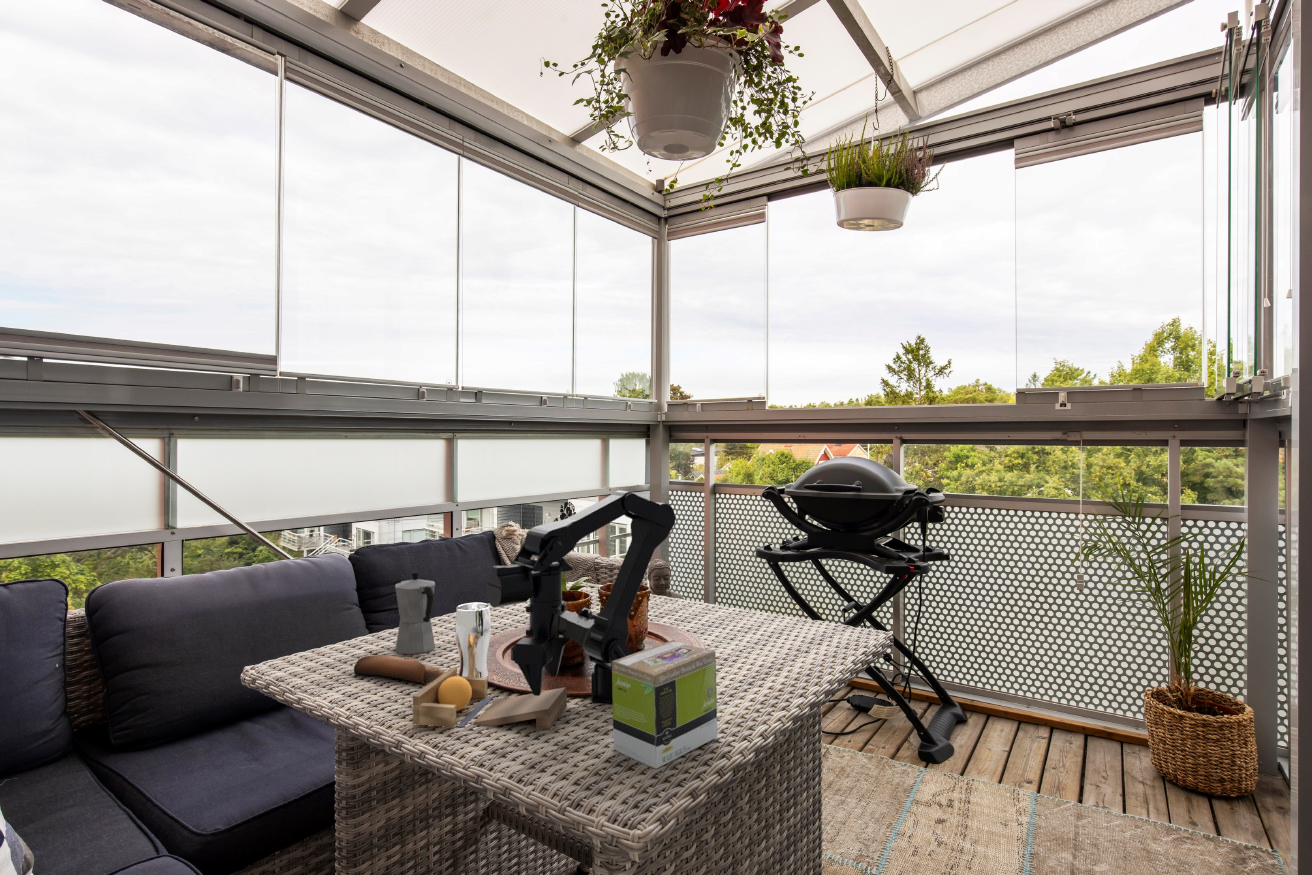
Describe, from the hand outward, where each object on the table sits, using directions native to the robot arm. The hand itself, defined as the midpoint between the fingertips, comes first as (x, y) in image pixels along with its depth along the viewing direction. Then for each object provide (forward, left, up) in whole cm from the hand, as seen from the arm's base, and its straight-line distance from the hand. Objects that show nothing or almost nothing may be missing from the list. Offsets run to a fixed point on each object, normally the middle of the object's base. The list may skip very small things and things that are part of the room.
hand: (545, 685), depth 123 cm
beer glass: (+21, -15, -6) cm, 26 cm away
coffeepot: (+42, -31, -6) cm, 52 cm away
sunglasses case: (+37, -16, -6) cm, 40 cm away
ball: (+18, 0, -6) cm, 18 cm away
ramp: (+5, 0, -6) cm, 7 cm away
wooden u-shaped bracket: (+18, 0, -6) cm, 19 cm away
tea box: (-23, +7, -6) cm, 24 cm away
